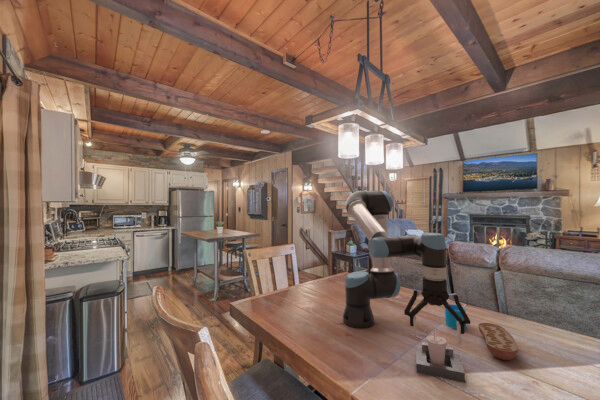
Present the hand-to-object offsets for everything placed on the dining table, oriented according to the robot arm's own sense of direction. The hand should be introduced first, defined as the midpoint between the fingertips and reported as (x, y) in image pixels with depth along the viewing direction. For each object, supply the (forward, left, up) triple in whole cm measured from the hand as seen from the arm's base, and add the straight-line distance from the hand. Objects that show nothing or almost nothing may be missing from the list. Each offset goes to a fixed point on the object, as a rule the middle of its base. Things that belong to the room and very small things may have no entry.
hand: (436, 338), depth 89 cm
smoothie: (0, -1, -10) cm, 10 cm away
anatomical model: (+22, +21, -10) cm, 32 cm away
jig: (0, 0, -10) cm, 10 cm away
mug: (+10, +39, -10) cm, 42 cm away
